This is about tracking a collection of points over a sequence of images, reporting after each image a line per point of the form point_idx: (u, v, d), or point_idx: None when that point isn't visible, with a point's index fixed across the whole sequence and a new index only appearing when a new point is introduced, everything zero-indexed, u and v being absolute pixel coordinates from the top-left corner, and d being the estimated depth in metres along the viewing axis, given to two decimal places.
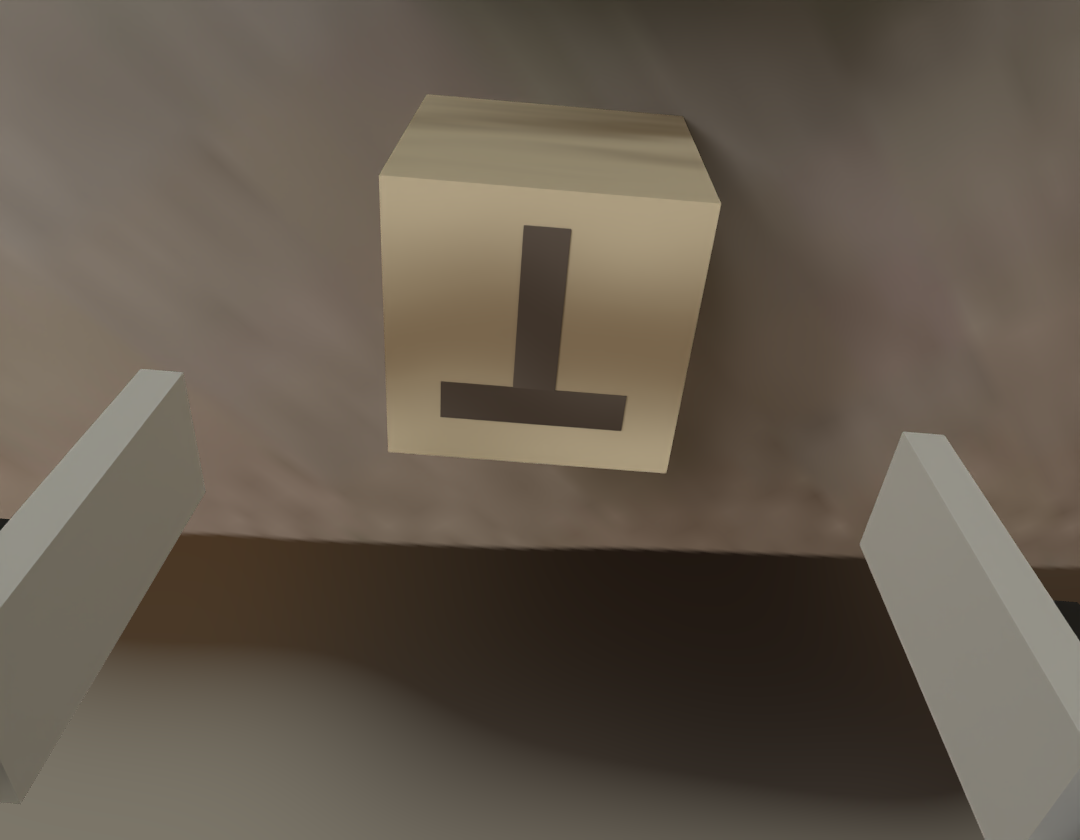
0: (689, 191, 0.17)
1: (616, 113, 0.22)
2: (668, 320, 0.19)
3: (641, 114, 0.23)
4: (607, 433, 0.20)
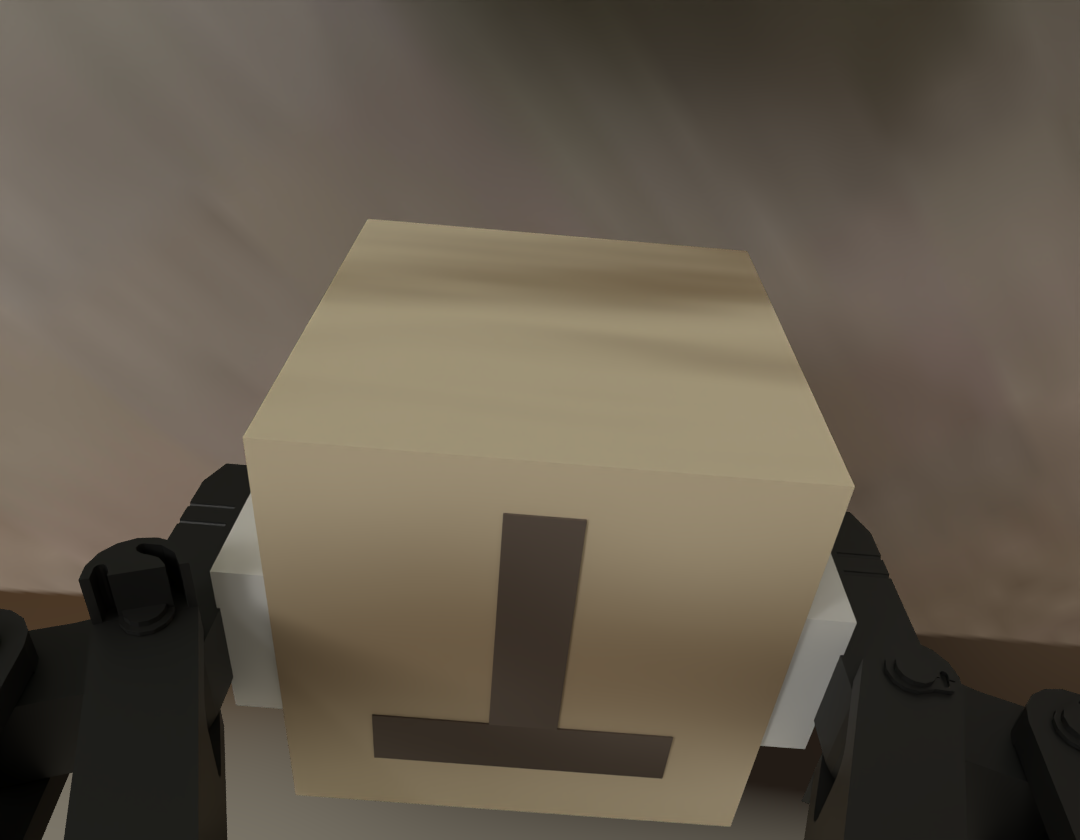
0: (793, 452, 0.10)
1: (650, 251, 0.15)
2: (747, 644, 0.11)
3: (687, 251, 0.15)
4: (640, 780, 0.13)
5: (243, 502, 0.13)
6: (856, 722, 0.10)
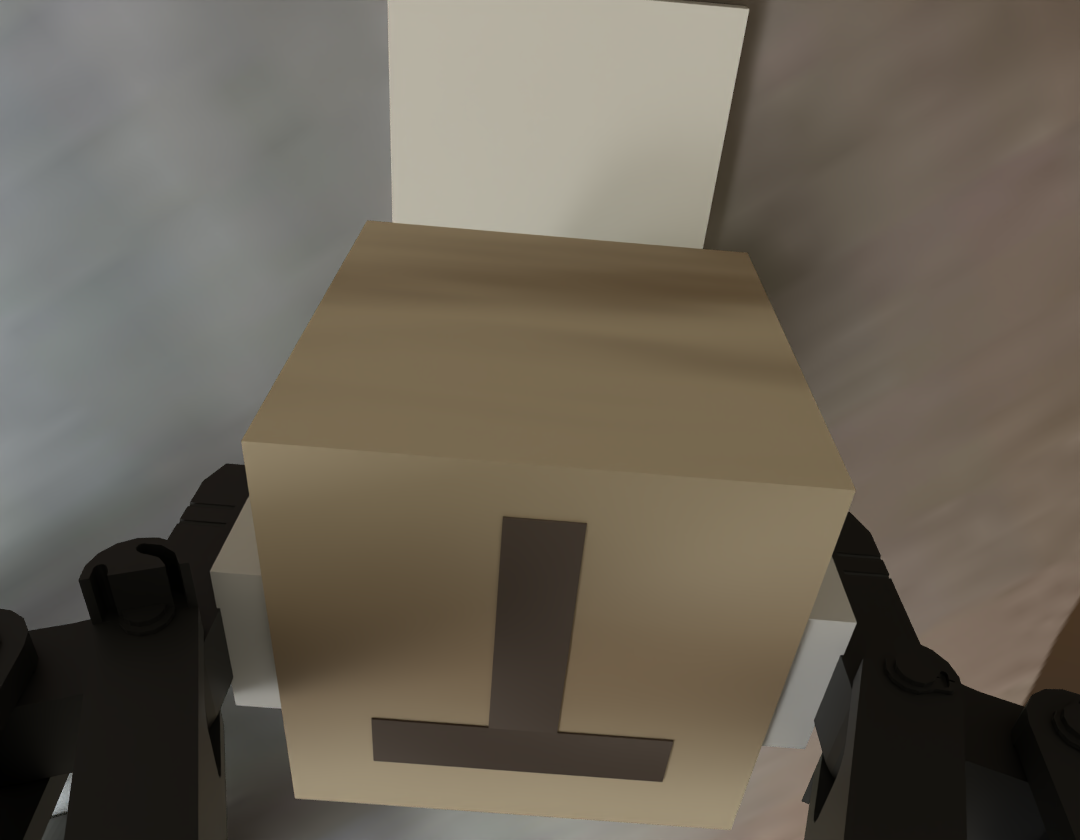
0: (793, 455, 0.10)
1: (651, 253, 0.15)
2: (747, 648, 0.11)
3: (687, 253, 0.15)
4: (640, 784, 0.13)
5: (243, 502, 0.13)
6: (856, 722, 0.10)
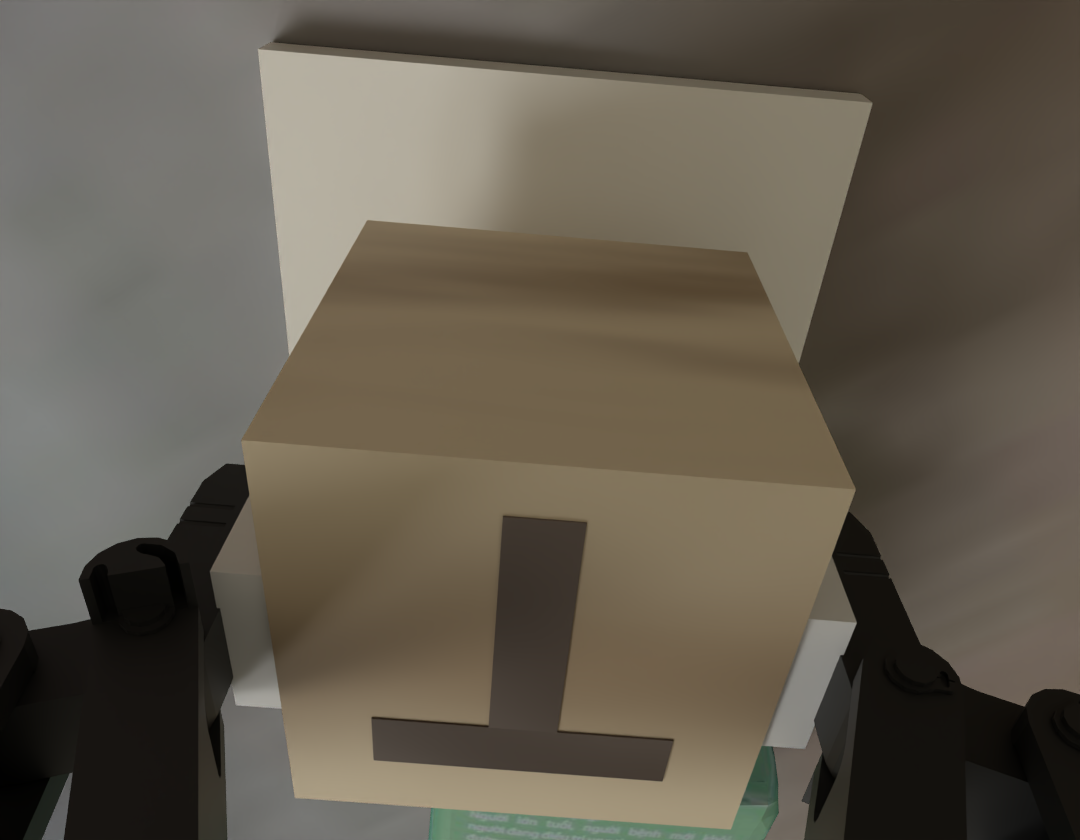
0: (794, 455, 0.10)
1: (650, 253, 0.15)
2: (747, 647, 0.11)
3: (687, 252, 0.15)
4: (640, 783, 0.13)
5: (243, 502, 0.13)
6: (856, 722, 0.10)
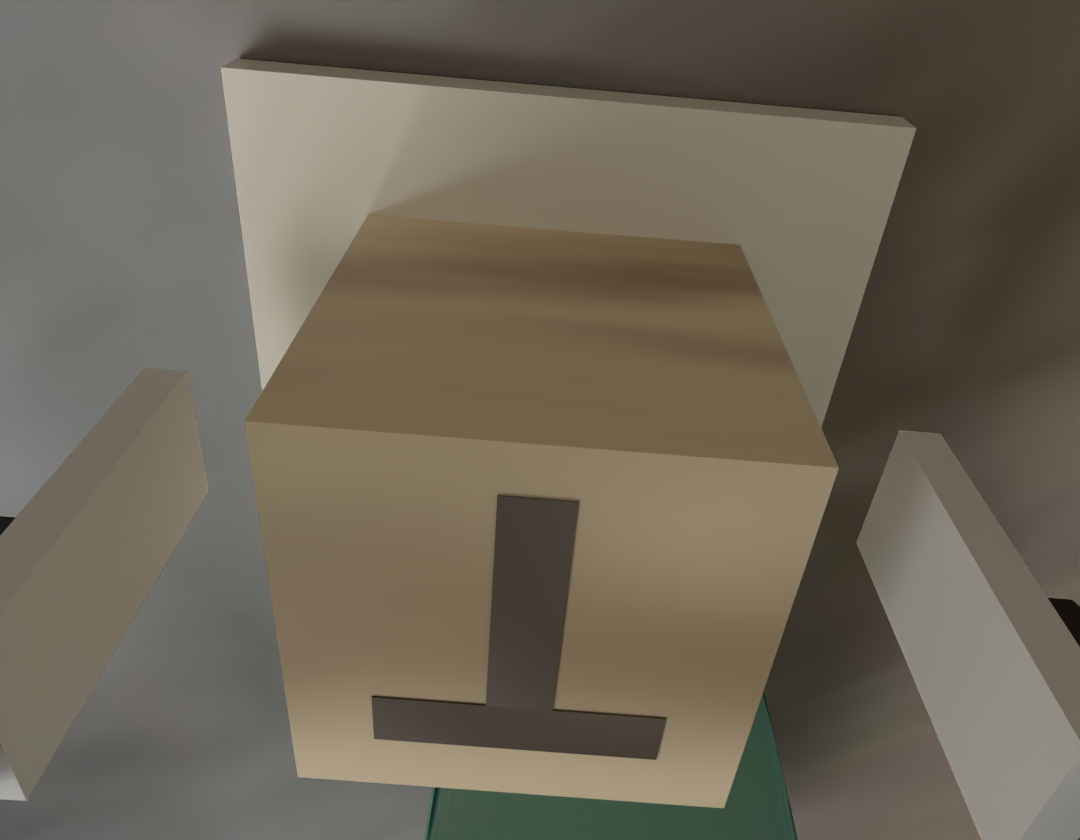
0: (780, 436, 0.10)
1: (645, 245, 0.15)
2: (737, 625, 0.11)
3: (680, 245, 0.15)
4: (634, 761, 0.13)
5: None
6: None
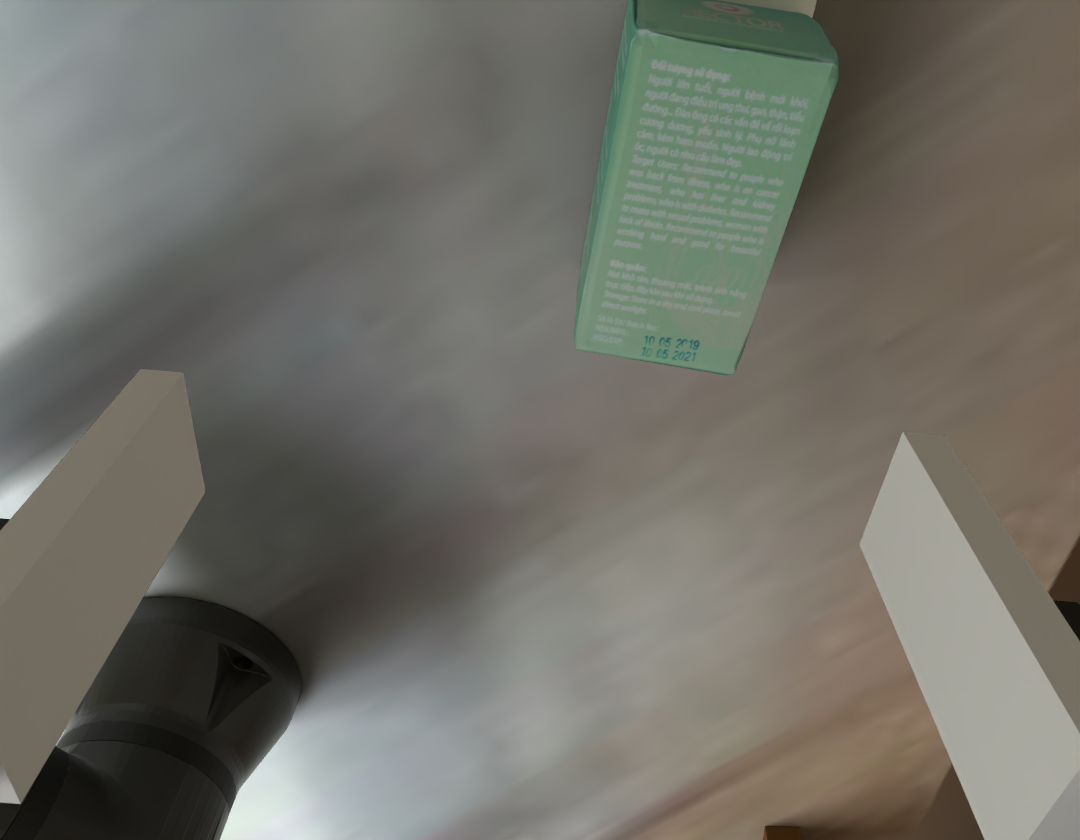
0: None
1: None
2: None
3: None
4: None
5: None
6: None
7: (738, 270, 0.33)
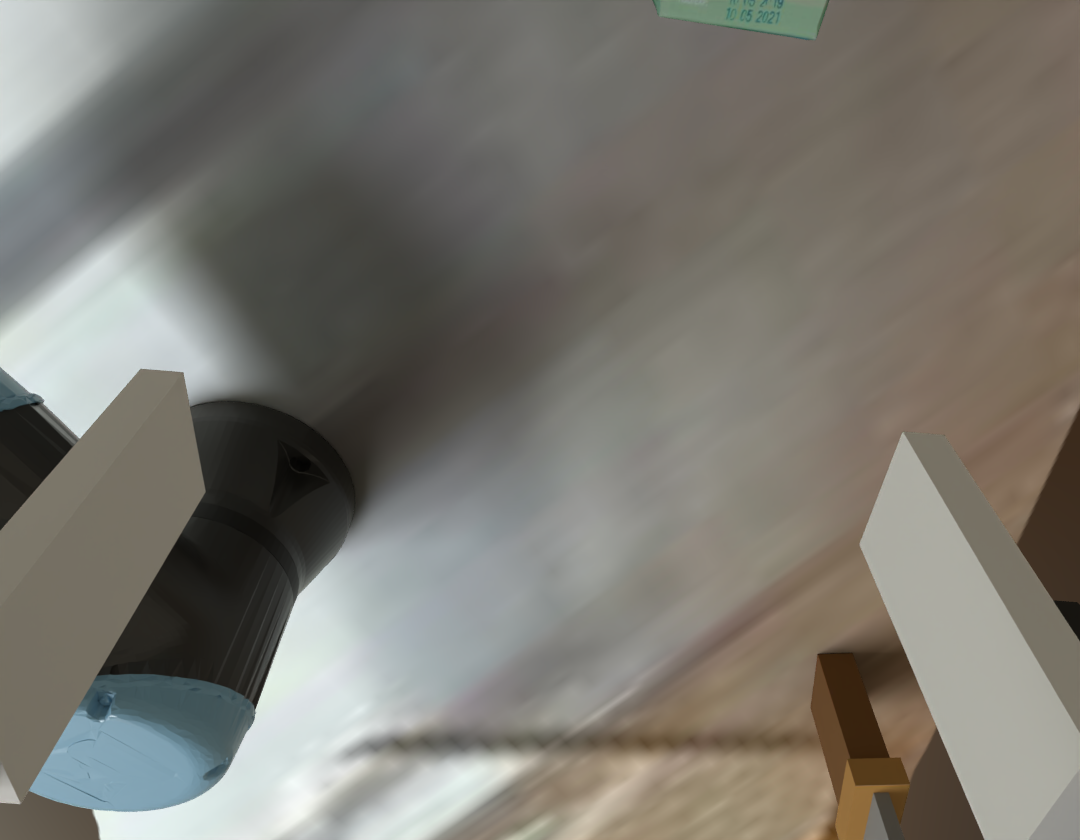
0: None
1: None
2: None
3: None
4: None
5: None
6: None
7: None
